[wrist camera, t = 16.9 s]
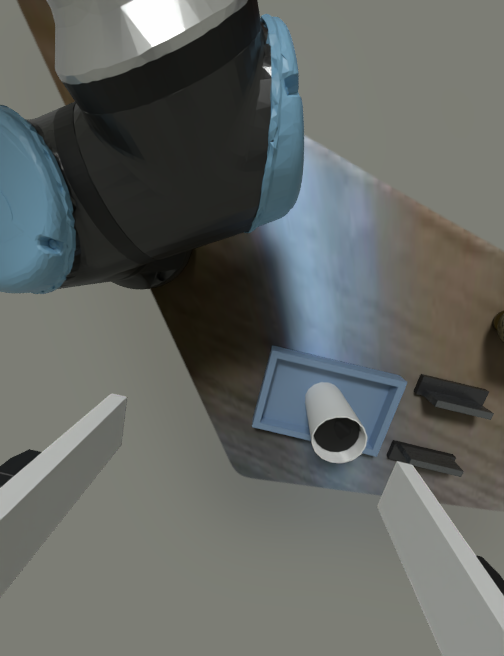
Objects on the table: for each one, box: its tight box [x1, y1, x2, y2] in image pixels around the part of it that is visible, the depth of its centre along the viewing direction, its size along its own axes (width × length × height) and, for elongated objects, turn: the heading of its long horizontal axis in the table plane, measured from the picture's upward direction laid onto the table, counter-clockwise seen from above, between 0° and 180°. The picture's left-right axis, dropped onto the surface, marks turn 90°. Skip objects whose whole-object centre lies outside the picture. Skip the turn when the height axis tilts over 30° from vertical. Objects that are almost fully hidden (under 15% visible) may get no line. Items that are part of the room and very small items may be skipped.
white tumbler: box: [305, 382, 367, 463], centre depth 38 cm, size 7×7×10 cm
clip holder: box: [387, 374, 494, 477], centre depth 41 cm, size 15×10×4 cm, turn 167°
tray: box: [252, 345, 407, 457], centre depth 42 cm, size 13×20×2 cm, turn 77°
